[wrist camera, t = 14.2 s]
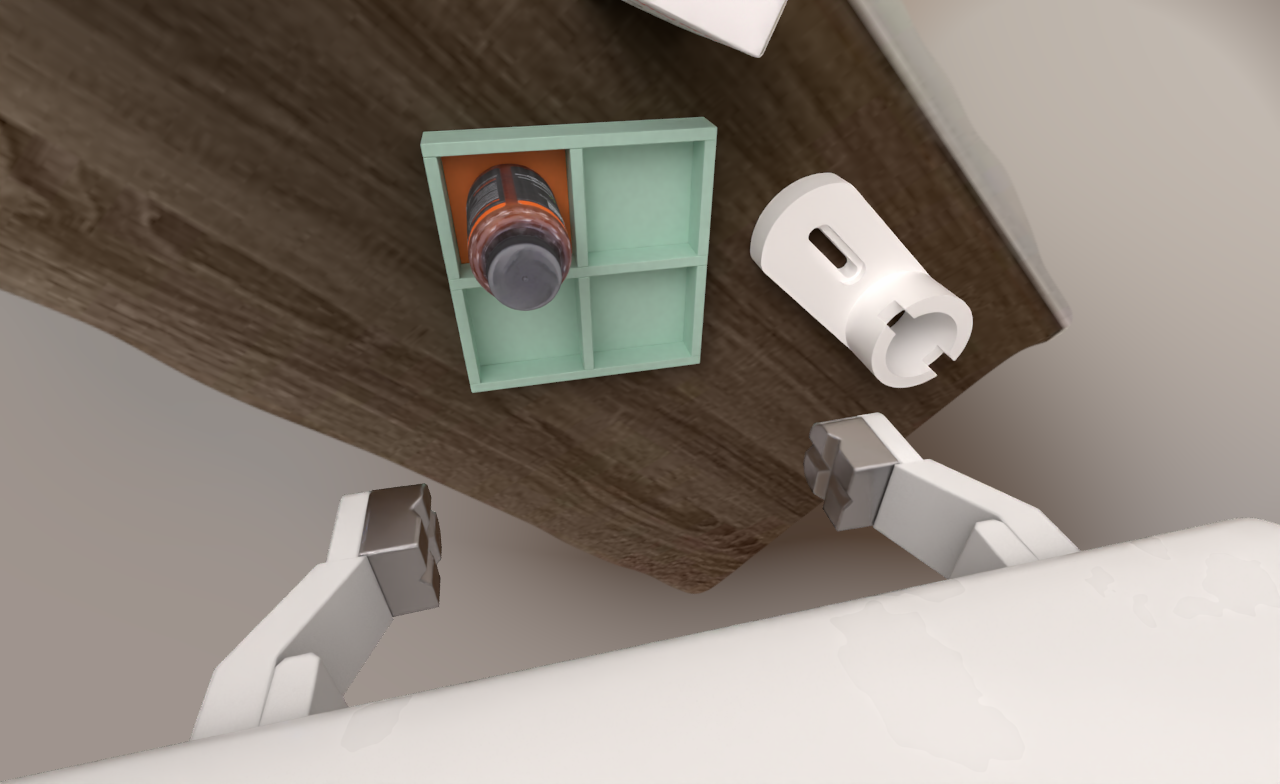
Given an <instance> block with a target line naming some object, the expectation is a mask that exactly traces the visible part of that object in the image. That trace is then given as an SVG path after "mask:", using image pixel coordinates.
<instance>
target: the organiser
mask: <svg viewBox="0 0 1280 784" xmlns="http://www.w3.org/2000/svg"><path fill="white" fill-rule="evenodd" d="M716 138H717V127H716V126H715V125H713V124H712V123H711V122H710V121H708V120H707V119H705V117H691V118H673V119H654V120H635V121H616V122H598V123H579V124H560V125H541V126H523V127H504V128H485V129H466V130H448V131H429V132H423V135H422V139H421V144H420V146H421V151H422V156H423V157H424V158H423V160H424V165H425V170H426V175H427V180H428V184H429V189H430V194H431V199H432V204H433V209H434V213H435V218H436V223H437V228H438V233H439V237H440V242H441V247H442V252H443V257H444V262H445V266H446V271H447V276H448V279H449V280H448V281H449V286H450V290H451V295H452V300H453V305H454V310H455V315H456V320H457V324H458V329H459V334H460V339H461V344H462V348H463V353H464V358H465V363H466V368H467V373H468V377H469V382H470V387H471V392H472V393H475V392H483V391H490V390H498V389H506V388H514V387H521V386H529V385H537V384H545V383H552V382H560V381H568V380H576V379H583V378H591V377H599V376H606V375H614V374H622V373H630V372H637V371H645V370H653V369H661V368H668V367H676V366H684V365H692V364H699V363H700V354H701V340H702V326H703V313H704V299H705V286H706V272H707V259H708V247H709V234H710V220H711V207H712V193H713V180H714V166H715V153H716ZM500 164H518V165H523V166H526V167H528V168H530V169H532V170H534V171H535V172H536V173H538V174H539V175H540V176H541V177H542V178H543V179H544V180H545V181H546V182H547V184H548V185H549V187H550V189H551V190H552V192H553V195H554V197H555V200H556V203H557V206H558V208H559V211H560V214H561V216H562V219H563V222H564V225H565V227H566V230H567V233H568V237H569V240H570V244H571V249H572V261H571V266H570V269H569V272H568V274H567V277H566V278H565V280H564V281H563V283H562V284H561V286H560V289H559V291H558V293H557V294H556V296H555V297H554V298H553V300H552V301H551V302H549V303H548V304H547V305H545V306H543V307H541V308H538V309H535V310H530V311H520V310H514V309H511V308H509V307H507V306H505V305H503V304H502V303H501V302H499V301H498V300H497V299H496V298H495V297H494V296H493V295H491V294H490V293H488V292H487V291H486V290H485V289H484V288H483V287H482V286H481V285H480V284H479V282H478V281H477V280H476V278H475V277H474V275H473V273H472V270H471V267H470V263H469V258H468V242H467V212H466V203H467V197H468V193H469V190H470V187H471V186H472V184H473V182H474V181H475V180H476V178H477V177H478V176H479V175H480V174H481V173H483V172H484V171H485V170H487V169H489V168H491V167H493V166H496V165H500Z"/></svg>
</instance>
